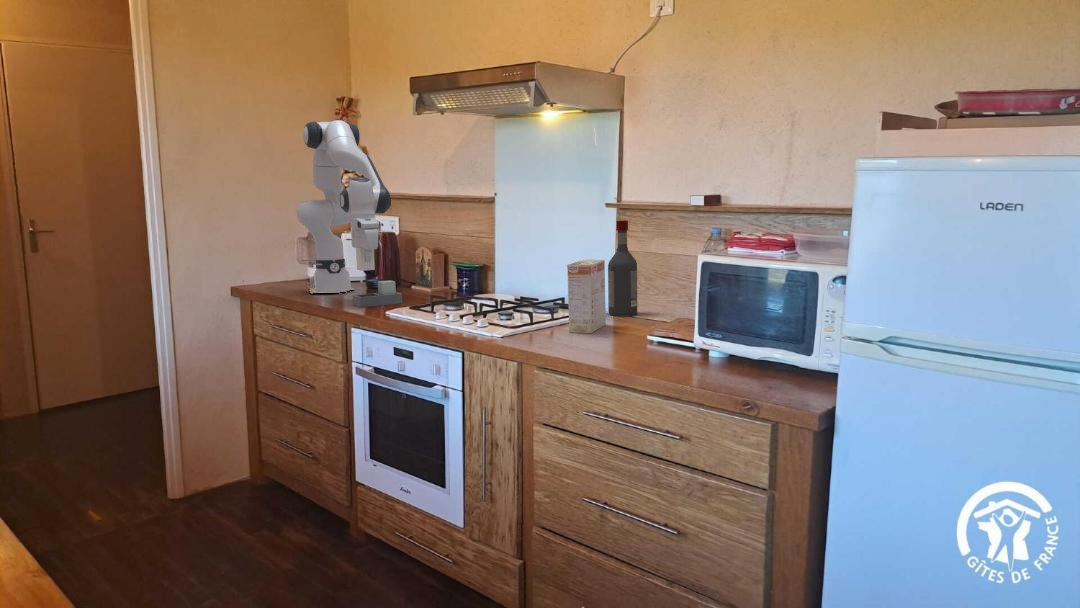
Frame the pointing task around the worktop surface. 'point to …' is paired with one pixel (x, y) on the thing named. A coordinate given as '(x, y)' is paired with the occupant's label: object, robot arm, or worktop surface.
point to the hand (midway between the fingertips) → (365, 261)
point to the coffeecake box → (586, 295)
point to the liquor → (622, 277)
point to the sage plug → (386, 287)
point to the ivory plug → (361, 261)
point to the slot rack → (376, 299)
